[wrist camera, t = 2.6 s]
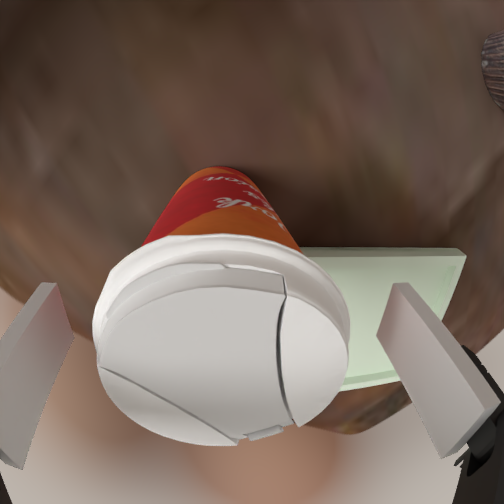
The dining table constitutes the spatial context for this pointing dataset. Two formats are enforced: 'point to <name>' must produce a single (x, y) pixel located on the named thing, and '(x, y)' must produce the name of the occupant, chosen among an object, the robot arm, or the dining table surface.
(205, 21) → the dining table surface
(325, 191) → the dining table surface
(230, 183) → the coffee cup
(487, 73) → the cupcake
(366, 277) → the tray
